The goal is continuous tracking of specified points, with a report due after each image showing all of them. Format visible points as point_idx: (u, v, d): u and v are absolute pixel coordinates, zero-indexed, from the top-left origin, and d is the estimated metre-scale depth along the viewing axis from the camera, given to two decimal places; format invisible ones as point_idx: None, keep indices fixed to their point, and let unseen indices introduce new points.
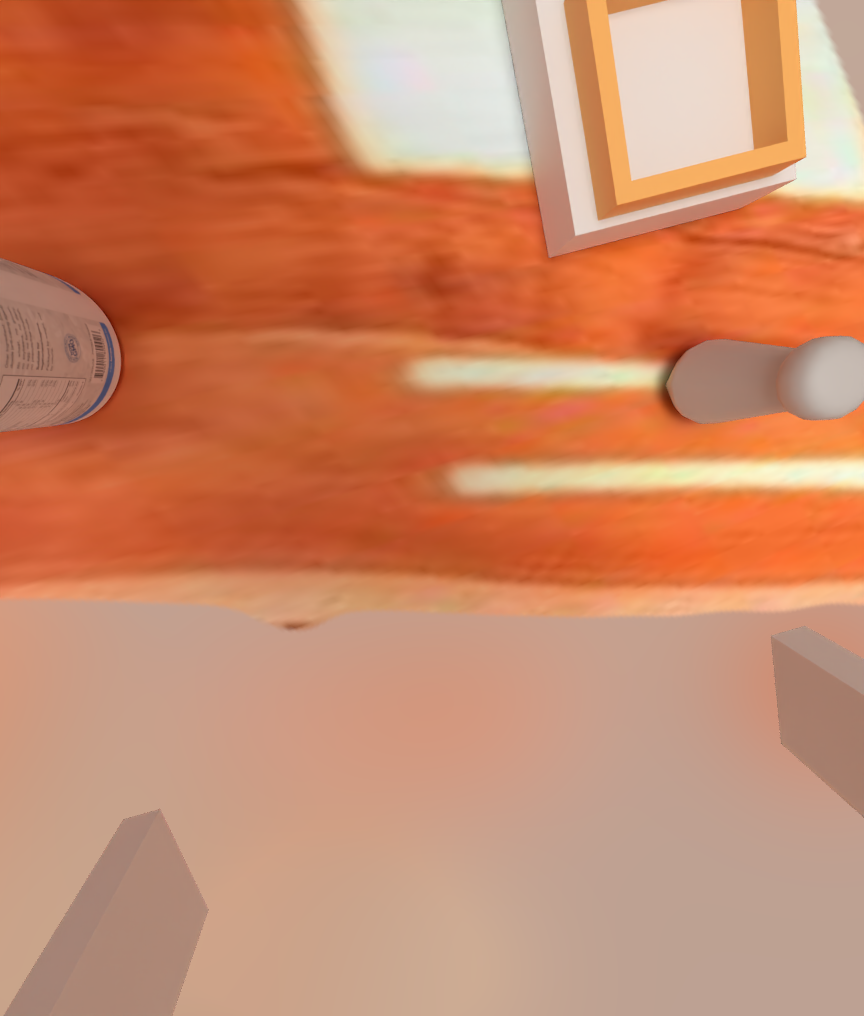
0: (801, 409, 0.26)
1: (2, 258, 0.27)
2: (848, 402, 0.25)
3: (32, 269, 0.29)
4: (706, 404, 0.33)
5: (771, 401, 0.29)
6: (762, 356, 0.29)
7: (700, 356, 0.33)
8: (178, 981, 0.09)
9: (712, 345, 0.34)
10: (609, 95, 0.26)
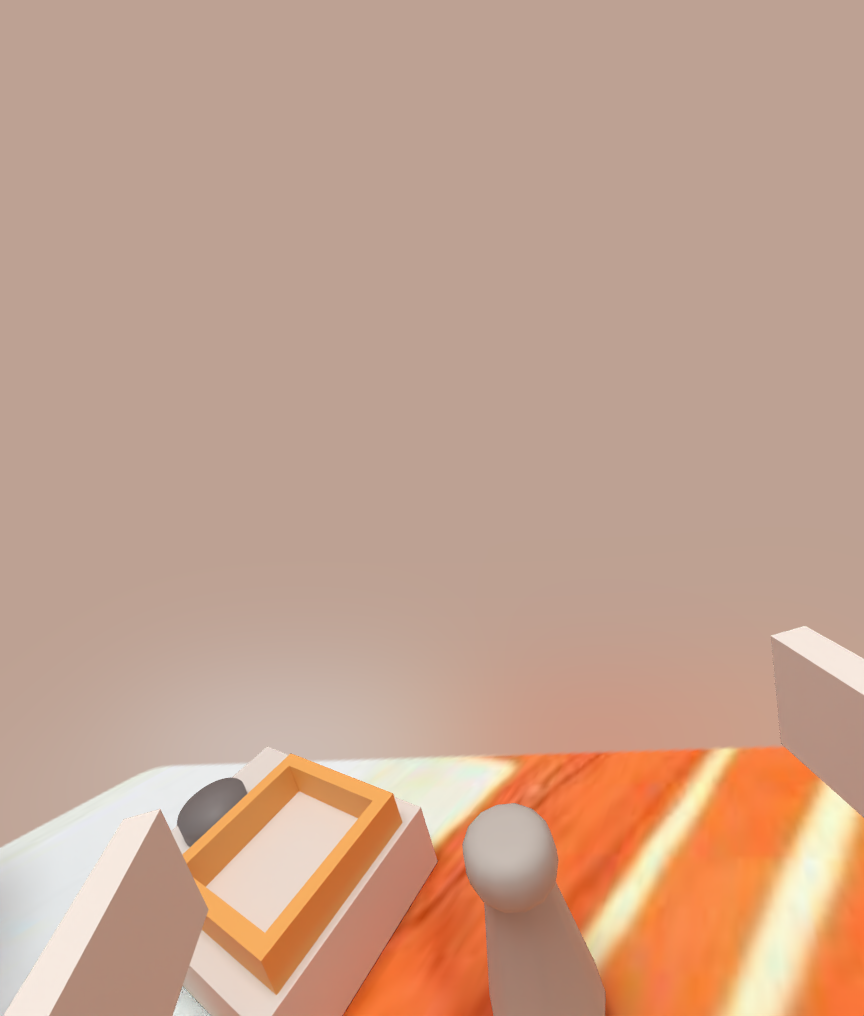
0: (514, 891, 0.21)
1: None
2: (529, 841, 0.22)
3: None
4: None
5: (523, 924, 0.22)
6: (485, 906, 0.24)
7: (490, 983, 0.25)
8: (178, 981, 0.09)
9: None
10: (214, 908, 0.29)
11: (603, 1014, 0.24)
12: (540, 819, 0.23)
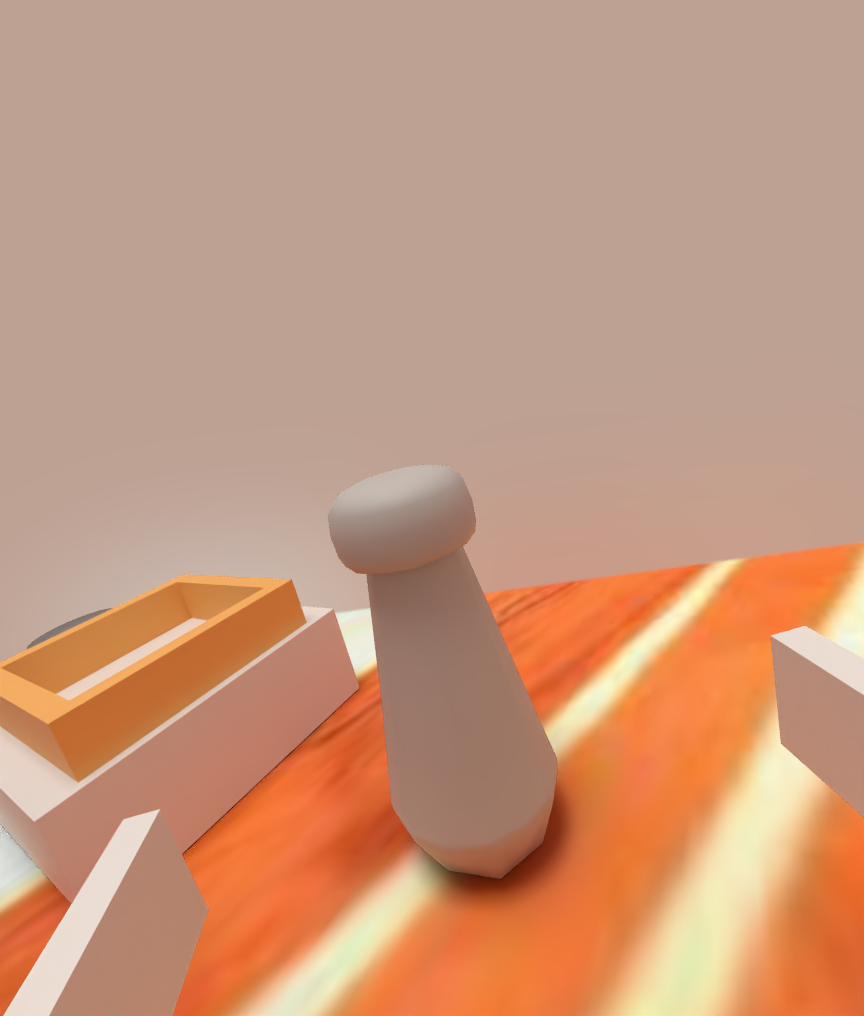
0: (391, 523, 0.13)
1: None
2: (425, 472, 0.14)
3: None
4: (440, 761, 0.14)
5: (417, 604, 0.14)
6: (372, 619, 0.16)
7: None
8: (178, 981, 0.09)
9: None
10: (18, 690, 0.21)
11: (551, 778, 0.16)
12: (450, 468, 0.15)
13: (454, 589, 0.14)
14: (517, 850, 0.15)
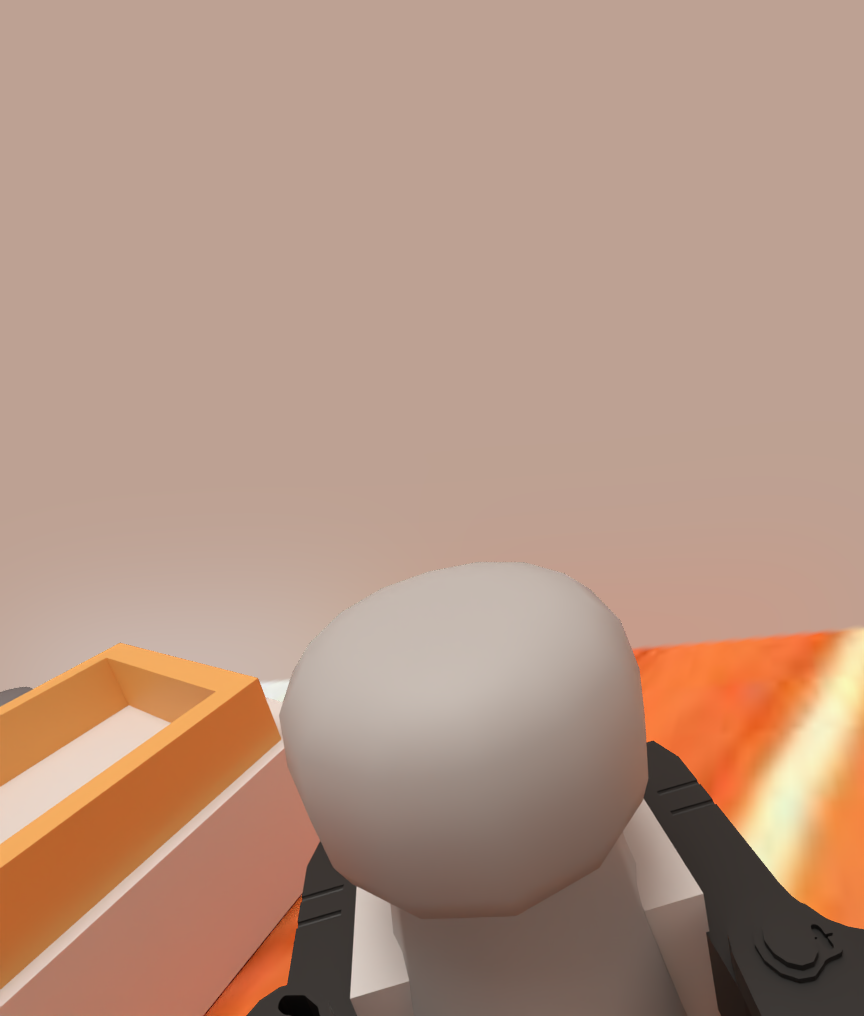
0: (458, 812, 0.04)
1: None
2: (533, 616, 0.05)
3: None
4: None
5: (511, 966, 0.05)
6: None
7: None
8: None
9: None
10: None
11: None
12: (572, 579, 0.06)
13: (601, 905, 0.06)
14: None
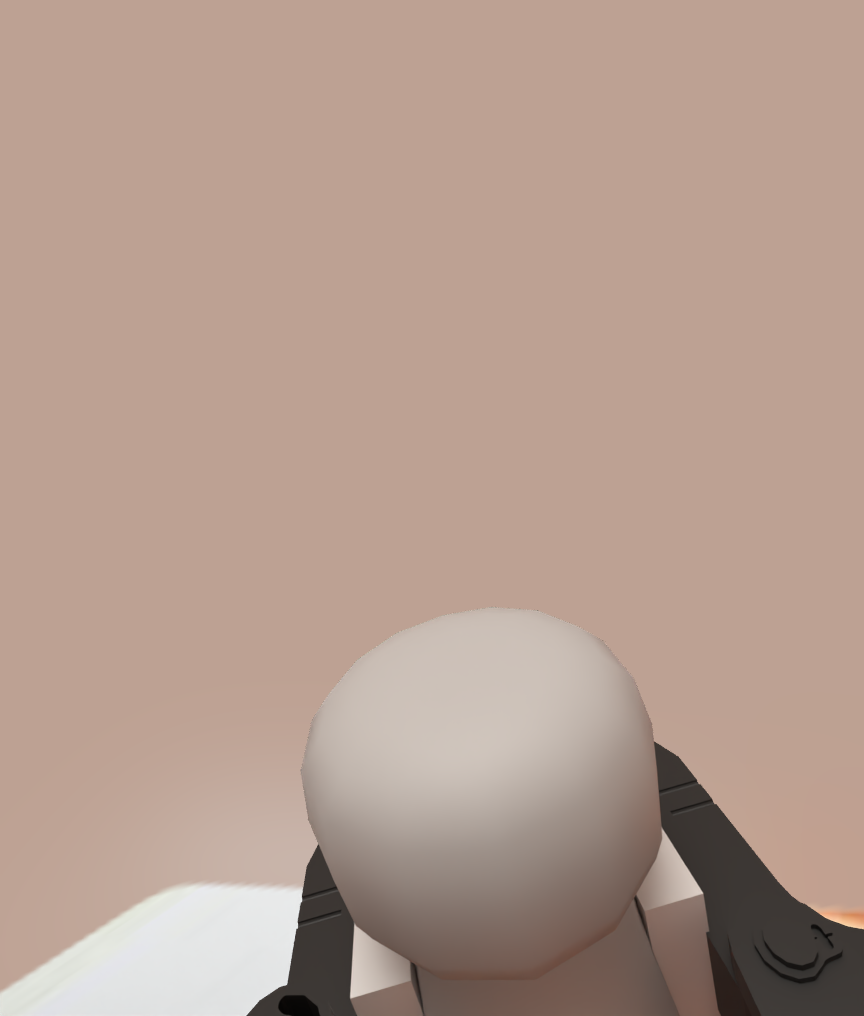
0: (481, 883, 0.04)
1: None
2: (550, 678, 0.05)
3: None
4: None
5: None
6: None
7: None
8: None
9: None
10: None
11: None
12: None
13: (615, 957, 0.06)
14: None
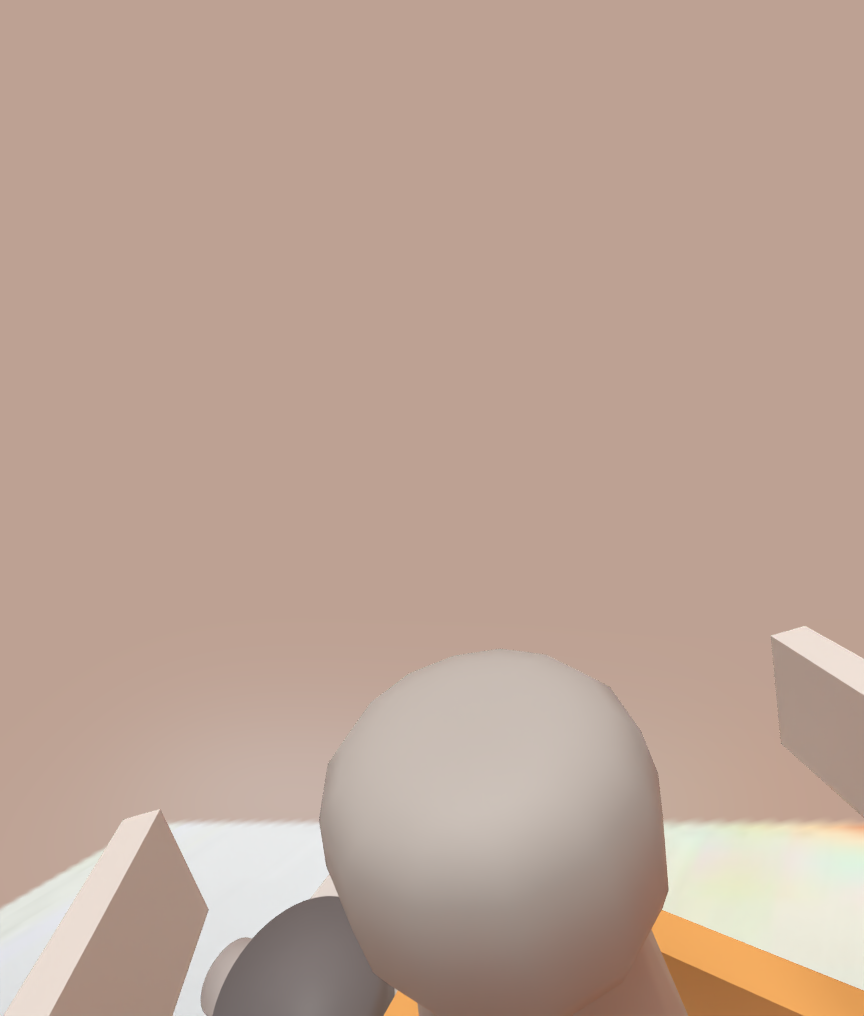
0: (497, 944, 0.05)
1: None
2: (560, 734, 0.06)
3: None
4: None
5: None
6: None
7: None
8: (178, 981, 0.09)
9: None
10: None
11: None
12: (593, 678, 0.07)
13: (622, 1001, 0.06)
14: None
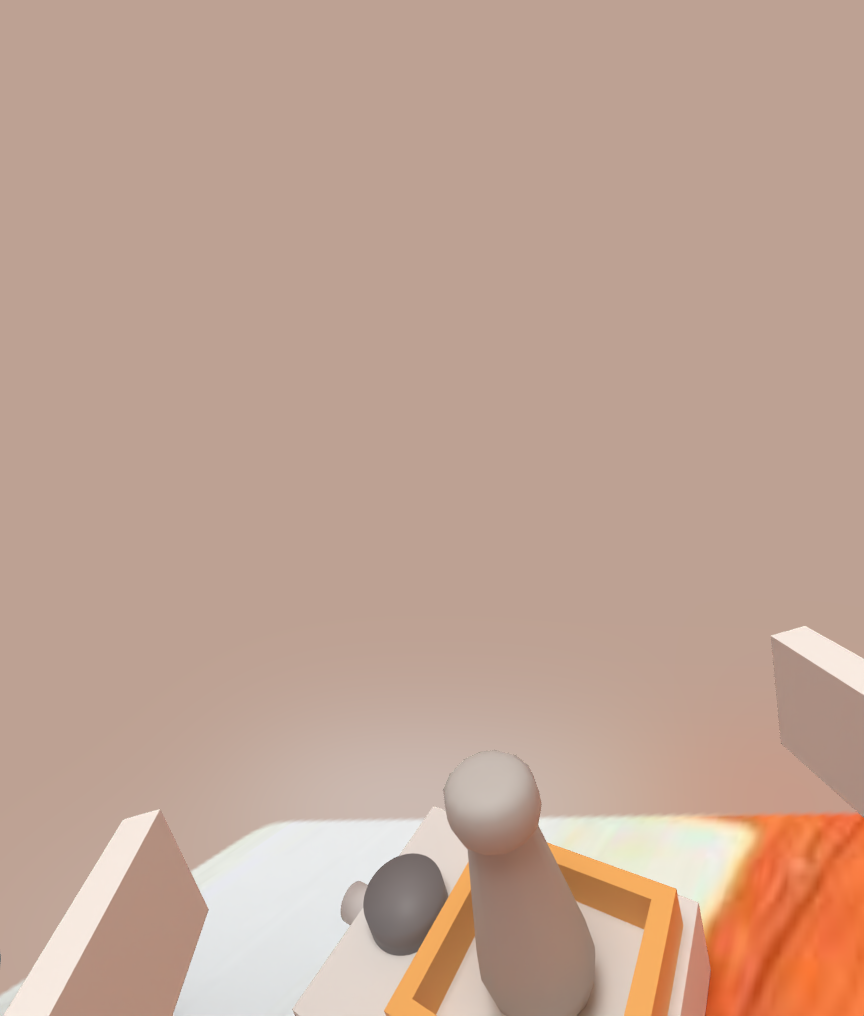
0: (493, 831, 0.21)
1: None
2: (510, 782, 0.22)
3: None
4: (521, 967, 0.22)
5: (505, 868, 0.22)
6: (468, 856, 0.24)
7: (476, 939, 0.25)
8: (178, 981, 0.09)
9: None
10: None
11: (592, 967, 0.23)
12: (522, 763, 0.23)
13: (528, 854, 0.22)
14: None
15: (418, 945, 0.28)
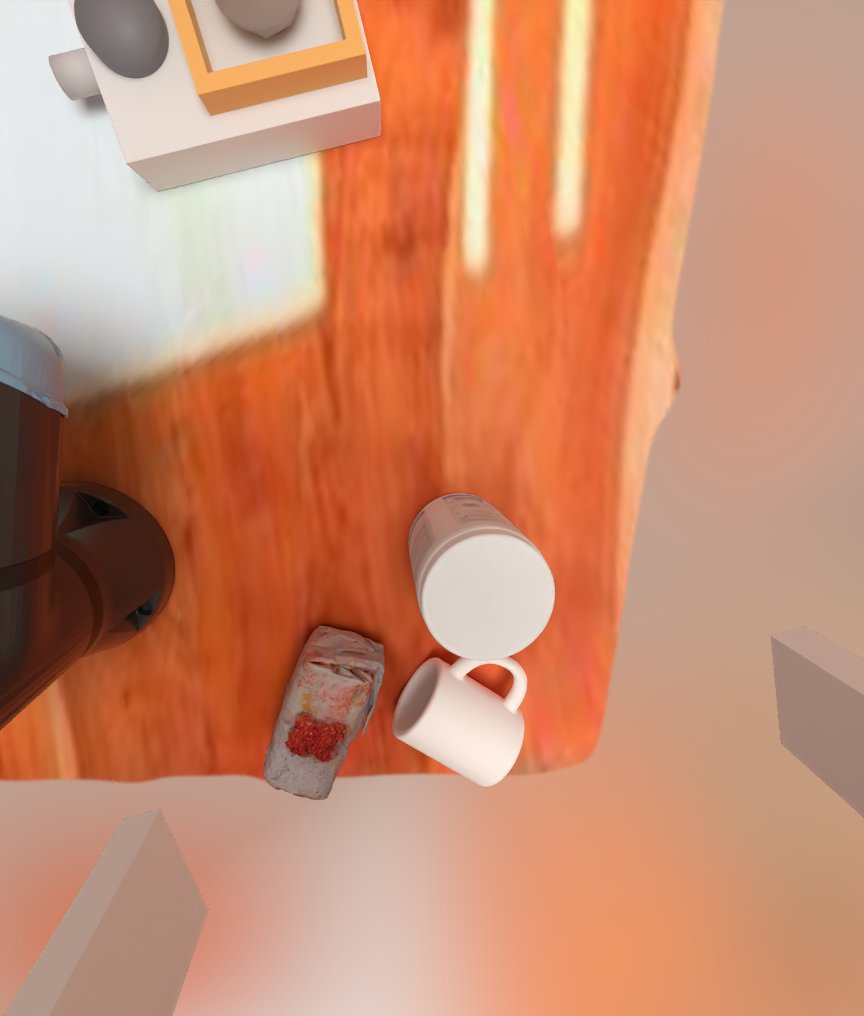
0: None
1: (413, 542, 0.42)
2: None
3: (414, 531, 0.43)
4: None
5: None
6: None
7: None
8: (178, 981, 0.09)
9: None
10: (284, 64, 0.32)
11: None
12: None
13: None
14: None
15: (165, 49, 0.33)
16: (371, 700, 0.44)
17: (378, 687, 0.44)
